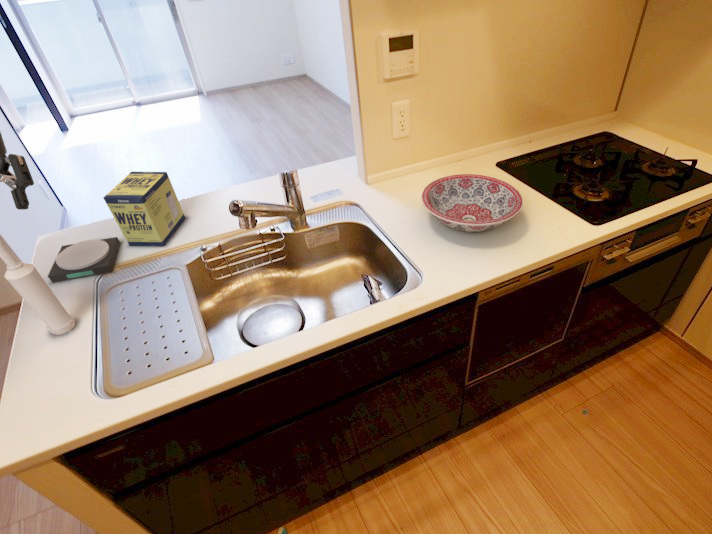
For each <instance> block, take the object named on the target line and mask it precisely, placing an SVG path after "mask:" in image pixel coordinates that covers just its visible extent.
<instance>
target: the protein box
mask: <svg viewBox="0 0 712 534" xmlns="http://www.w3.org/2000/svg"><path fill="white" fill-rule="evenodd" d="M103 200H104V202H105V203H106V205H107V207H108V209H109V211H110V213H111V214H112V216H113V218H114V221H115V222H116V224H117V225H118V227H119V229H120V231H121V233H122V235H123V237H124V238H125V240H126V242H127V244H128V246H130V247H131V246H133V247H134V246H136V247H137V246H139V247H140V246H141V247H142V246H143V247H165V246H166V244H167V243H168V242H169V240H170V239H171V237H172V236H173V235H174V234H175V232H176V231H177V230H178V229H179V227H180V225H181V224H183V222H184V220H185V219H186V216H185V214H184V211H183V209H182V207H181V204H180V201H179V199H178V197H177V194H176V192H175V190H174V187H173V185H172V182H171V180H170V177H169V174H168V173H167V171H131V172H129V173H128V175H126V176H125V177H124V178H123V179H122V180H121V181H120V182H119V183H118V184H117V185H115V187H113V188H112V189H111V190H110V191H109V192H108V193H107V194H106V195H104V196H103Z"/></svg>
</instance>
